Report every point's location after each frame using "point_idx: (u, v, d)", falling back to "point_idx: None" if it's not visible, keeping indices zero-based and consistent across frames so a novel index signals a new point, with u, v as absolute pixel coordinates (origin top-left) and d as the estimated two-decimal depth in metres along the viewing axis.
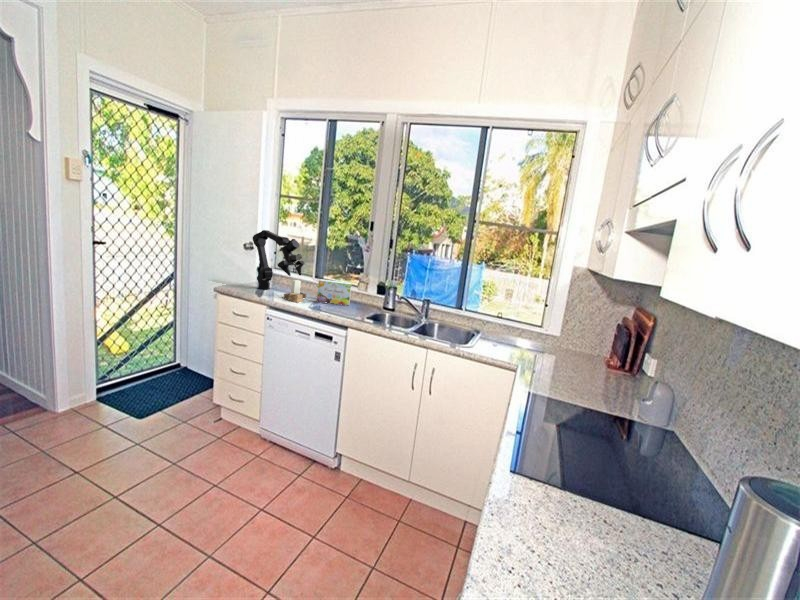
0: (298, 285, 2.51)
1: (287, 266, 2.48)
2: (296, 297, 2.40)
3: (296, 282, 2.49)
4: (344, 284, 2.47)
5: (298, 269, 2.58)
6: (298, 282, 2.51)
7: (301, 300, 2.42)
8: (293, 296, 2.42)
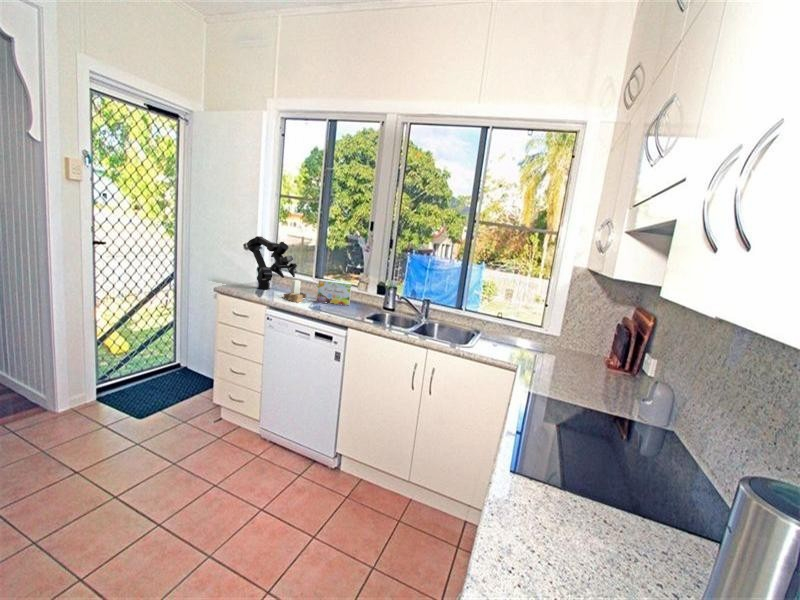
0: (298, 285, 2.51)
1: (279, 268, 2.50)
2: (296, 297, 2.40)
3: (296, 282, 2.49)
4: (344, 284, 2.47)
5: (291, 271, 2.59)
6: (298, 282, 2.51)
7: (301, 300, 2.42)
8: (293, 296, 2.41)
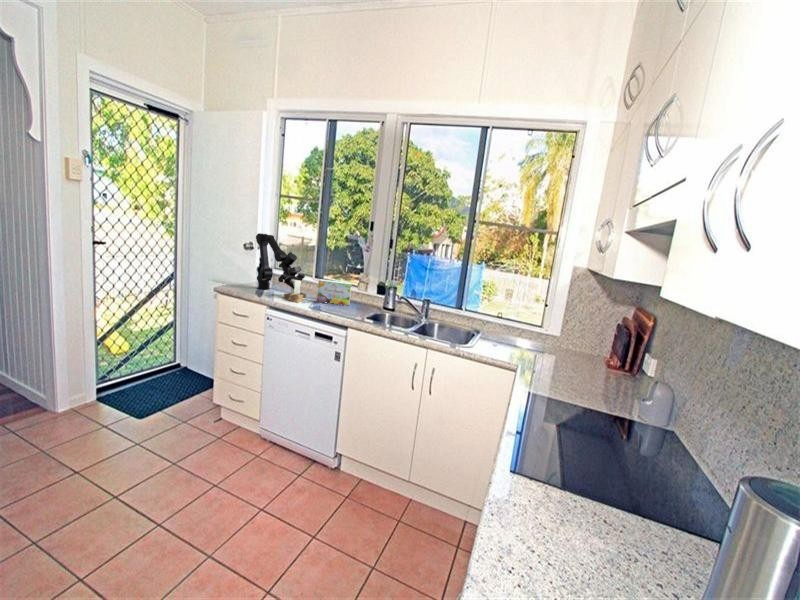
0: (298, 285, 2.51)
1: (290, 279, 2.48)
2: (297, 297, 2.40)
3: (296, 282, 2.49)
4: (344, 284, 2.47)
5: None
6: (298, 282, 2.51)
7: (301, 300, 2.42)
8: (294, 296, 2.41)
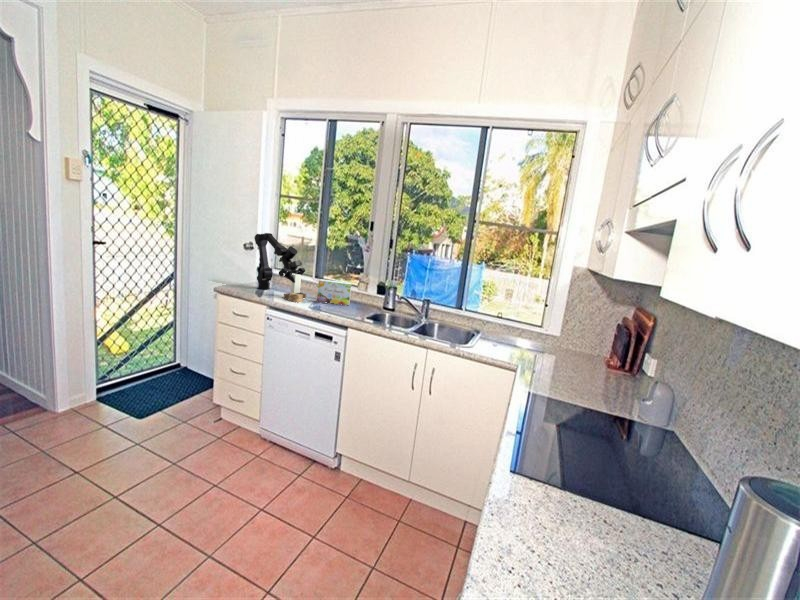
0: (298, 279, 2.50)
1: (290, 273, 2.47)
2: (297, 297, 2.41)
3: (297, 276, 2.48)
4: (344, 284, 2.47)
5: None
6: (299, 276, 2.50)
7: (301, 300, 2.43)
8: (293, 296, 2.42)
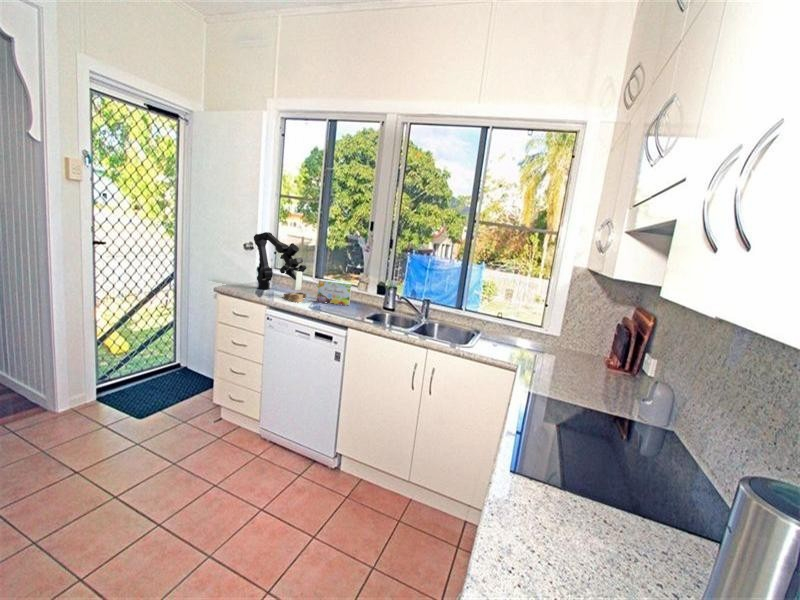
0: (300, 276, 2.51)
1: (291, 270, 2.48)
2: (297, 297, 2.41)
3: (298, 273, 2.49)
4: (344, 284, 2.47)
5: None
6: (300, 273, 2.50)
7: (301, 300, 2.43)
8: (294, 296, 2.42)
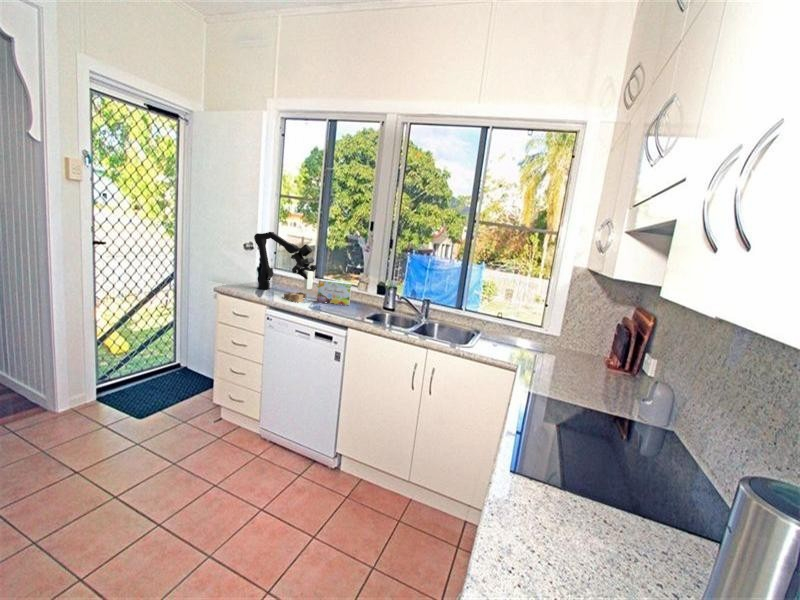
0: (311, 276, 2.59)
1: (303, 270, 2.56)
2: (297, 297, 2.41)
3: (309, 273, 2.57)
4: (344, 284, 2.47)
5: None
6: (311, 273, 2.59)
7: (301, 300, 2.43)
8: (294, 296, 2.42)
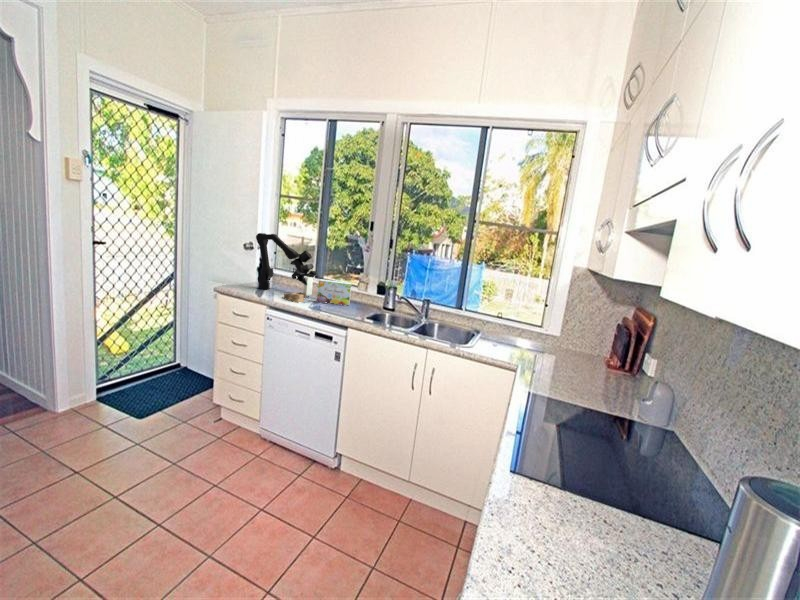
0: (310, 282, 2.60)
1: (303, 276, 2.57)
2: (298, 297, 2.41)
3: (309, 279, 2.58)
4: (344, 284, 2.47)
5: None
6: (310, 279, 2.59)
7: (302, 300, 2.43)
8: (294, 296, 2.42)
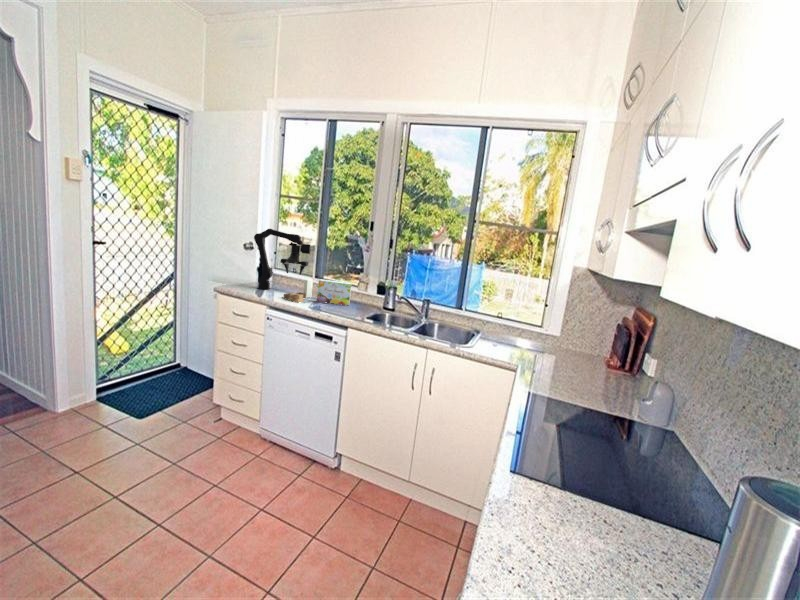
0: (310, 284, 2.60)
1: (285, 265, 2.69)
2: (298, 297, 2.41)
3: (308, 281, 2.58)
4: (344, 284, 2.47)
5: None
6: (310, 281, 2.60)
7: (302, 300, 2.43)
8: (294, 296, 2.42)
